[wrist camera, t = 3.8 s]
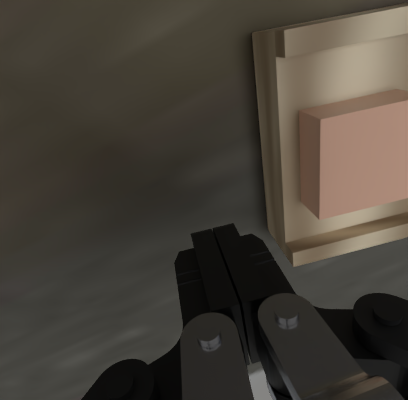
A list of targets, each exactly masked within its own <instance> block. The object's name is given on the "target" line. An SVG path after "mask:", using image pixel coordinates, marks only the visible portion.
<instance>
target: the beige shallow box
mask: <svg viewBox="0 0 408 400" xmlns="http://www.w3.org/2000/svg"><path fill="white" fill-rule="evenodd" d="M252 42H253V54H254V66H255V78H256V90H257V102H258V114H259V126H260V138H261V150H262V162H263V174H264V187H265V199H266V211H267V223H268V230H269V232H270V233H271V235H272V236H273V238H274V239H275V241H276V242H277V244H278V245H279V247H280V248H281V249H282V251H283V252H284V254H285V255H286V257H287V258H288V260H289V261H290V263H291V264H292V266H293V267H295V266H299V265H303V264H307V263H310V262H314V261H318V260H322V259H326V258H330V257H333V256H337V255H341V254H345V253H349V252H353V251H356V250H360V249H364V248H368V247H372V246H375V245H379V244H383V243H387V242H391V241H395V240H398V239H402V238H406V237H408V198H406V199H402V200H398V201H394V202H390V203H386V204H382V205H378V206H374V207H370V208H366V209H362V210H358V211H354V212H350V213H346V214H342V215H338V216H334V217H330V218H326V219H322V220H319V219H318V218H317V217H316V216H315V215H314V214H313V213H312V212H311V211H310V210H309V209H308V208H307V207H306V206H305V205H304V204H303V203H302V202H301V181H300V134H299V110H302V109H307V108H311V107H316V106H321V105H325V104H330V103H334V102H339V101H344V100H348V99H353V98H357V97H362V96H367V95H371V94H376V93H380V92H385V91H389V90H394V89H399V90H405V91H408V3H403V4H397V5H392V6H387V7H382V8H377V9H372V10H366V11H361V12H356V13H351V14H346V15H340V16H335V17H330V18H325V19H320V20H315V21H309V22H304V23H299V24H294V25H289V26H284V27H278V28H273V29H268V30H263V31H258V32H253V33H252Z"/></svg>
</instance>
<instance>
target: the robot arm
mask: <svg viewBox="0 0 408 400" xmlns="http://www.w3.org/2000/svg"><path fill="white" fill-rule="evenodd" d="M191 237H192V241H193V245H194V248H192V249H188V250H184V251H180V252H179V253H178V256H177V258H176V260H175V263H174V264H175V271H176V278H177V284H178V292H179V299H180V306H181V312H182V319H183V331H182V334H181V337H180V339H179V341H178V342H177V344H176V345H175V346H174V347H173V348H172V349H171V350H170V351H169V352H168V353H166V354H165V355H163V356H162V357H160V358H159V359H157V360H155V361H154V362H152V363H150V364H149V365H147V364H146V363H145V362H143V361H141V360H138V359H127V360H122V361H120V362H117V363H115V364H114V365H112V366H110V367H109V368H108V369H106V370H105V371H104V372H103V373H102V374H101V375H100V377H99V378H98V379H97V380H96V382H95V383H94V384H93V385H92V387H91V388H90V389H89V390H88V392H87V393H86V394H85V396H84V397H83V398H82V399H81V400H254V397H253V393H252V389H251V385H250V381H249V375H248V370H247V365H249V364H250V363H249V357H248V353H249V356H250V359H251V362H252V363H256V362H259V361H261V364H262V366H263V369H264V372H265V374H266V380H267V387H268V390H269V393H270V395H271V397H272V399H273V400H408V300H405V299H402V298H400V297H397V296H393V295H390V294H385V293H372V294H367V295H364V296H362V297H360V298H359V299H358V300H357V301H356V303H355V304H354V308H353V309H323V308H318V307H315V306H313V305H312V304H311V303H310V302H309V301H307V300H306V299H305V298H303V297H301V296H298V295H296V293H295V292H294V290H293V289H292V287H291V285H290V284H289V282H288V280H287V279H286V277H285V276H284V274H283V272H282V271H281V269H280V267H279V266H278V264H277V263H276V261H274V258H273V256H272V255H271V253H270V252H269V250H268V248H267V246H266V245H265V243H264V242H263V240H261V239H260V238H258V237H257V236H255V235H253V234H248V235H244V236H240V235H239V233H238V231H237V229H236V227H235V225H234V224H233V223H232V224H228V225H224V226H220V227H216V228H213V232H212V229H208V230H204V231H200V232H196V233H192V234H191Z"/></svg>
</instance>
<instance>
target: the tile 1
mask: <svg viewBox="0 0 408 400" xmlns="http://www.w3.org/2000/svg"><path fill="white" fill-rule="evenodd" d="M299 134H300V181H301V202H302V203H303V204H304V205H305V206H306V207H307V208H308V209H309V210H310V211H311V212H312V213H313V214H314V215H315V216H316V217H317V218H318V219H319V220H322V219H326V218H330V217H334V216H338V215H342V214H346V213H350V212H354V211H358V210H362V209H366V208H370V207H374V206H378V205H382V204H386V203H390V202H394V201H398V200H402V199H406V198H408V91H405V90H399V89H394V90H389V91H385V92H380V93H376V94H371V95H367V96H362V97H357V98H353V99H348V100H344V101H339V102H334V103H330V104H325V105H321V106H316V107H311V108H307V109H302V110H299Z"/></svg>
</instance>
